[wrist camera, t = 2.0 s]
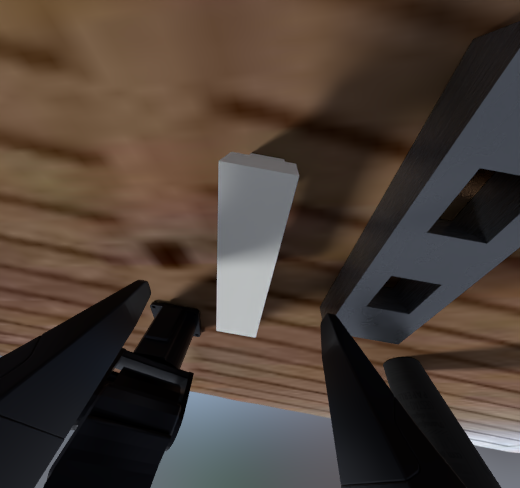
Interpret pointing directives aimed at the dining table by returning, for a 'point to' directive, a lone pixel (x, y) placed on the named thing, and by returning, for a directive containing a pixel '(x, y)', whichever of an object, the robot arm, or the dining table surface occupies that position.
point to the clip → (249, 235)
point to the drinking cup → (437, 421)
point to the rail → (441, 203)
